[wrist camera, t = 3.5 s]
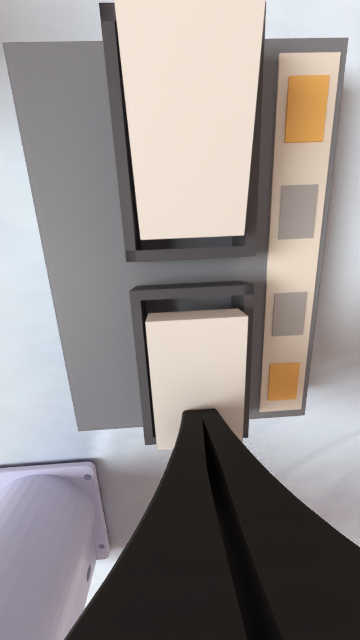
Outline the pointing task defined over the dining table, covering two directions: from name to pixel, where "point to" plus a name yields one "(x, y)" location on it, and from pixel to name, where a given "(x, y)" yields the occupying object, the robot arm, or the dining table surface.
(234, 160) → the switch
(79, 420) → the switch panel
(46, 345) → the dining table surface
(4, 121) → the dining table surface
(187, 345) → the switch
